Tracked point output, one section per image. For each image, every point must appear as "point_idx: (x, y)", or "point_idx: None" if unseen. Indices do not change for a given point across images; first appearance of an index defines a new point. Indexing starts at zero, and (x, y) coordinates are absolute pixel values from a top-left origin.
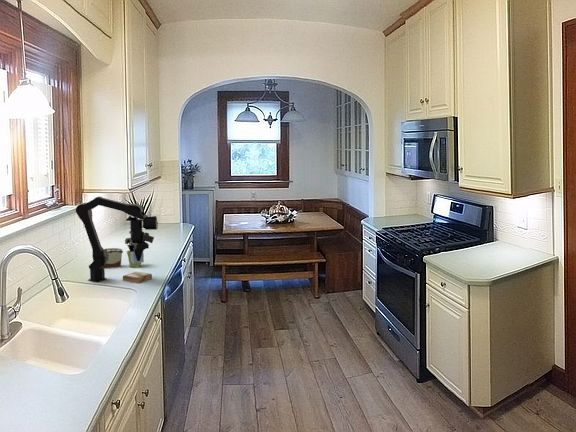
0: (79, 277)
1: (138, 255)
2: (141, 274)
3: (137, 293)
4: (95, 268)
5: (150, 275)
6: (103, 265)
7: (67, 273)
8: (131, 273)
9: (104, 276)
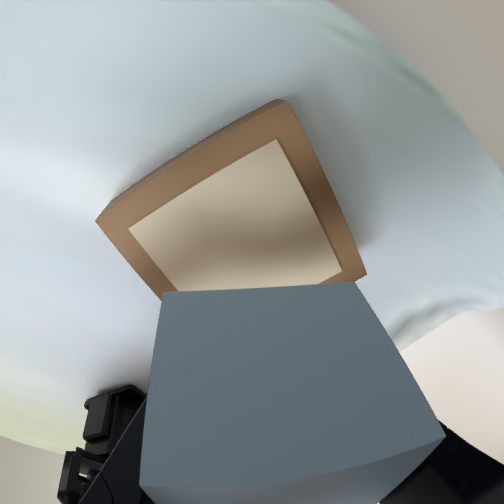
0: (65, 433)
1: None
2: (259, 214)
3: (490, 302)
4: None
5: (294, 120)
6: (85, 454)
7: (5, 431)
8: (152, 281)
9: (112, 399)
